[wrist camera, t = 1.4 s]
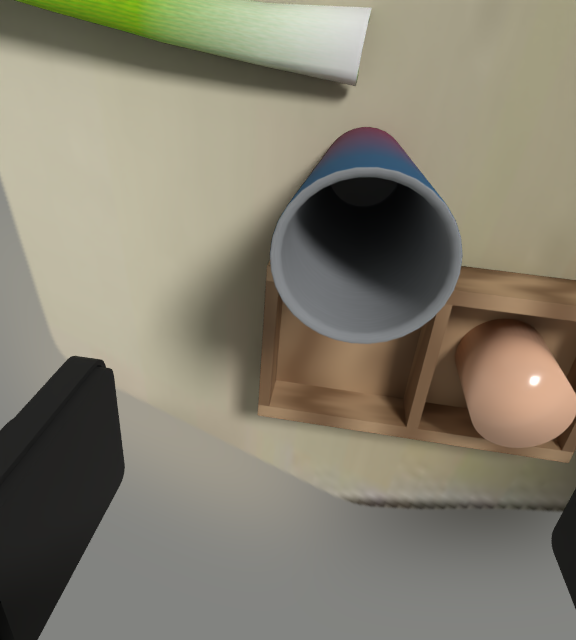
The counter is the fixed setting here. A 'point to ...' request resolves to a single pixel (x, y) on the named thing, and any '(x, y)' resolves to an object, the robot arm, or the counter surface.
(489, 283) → the caddy
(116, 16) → the leek
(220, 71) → the counter surface
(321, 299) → the cup
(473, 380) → the peach capsule shape
